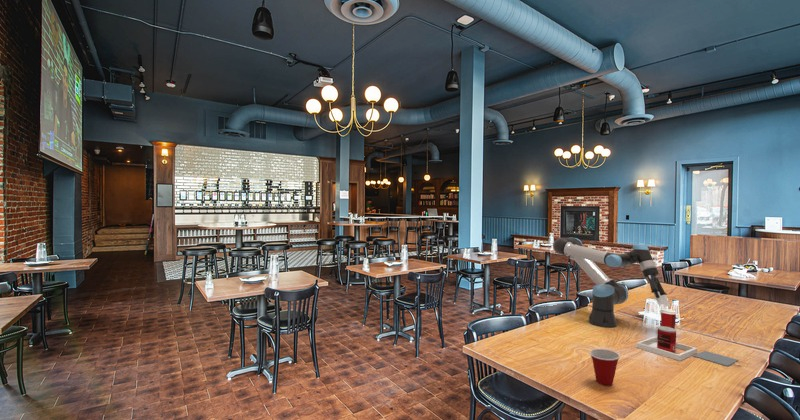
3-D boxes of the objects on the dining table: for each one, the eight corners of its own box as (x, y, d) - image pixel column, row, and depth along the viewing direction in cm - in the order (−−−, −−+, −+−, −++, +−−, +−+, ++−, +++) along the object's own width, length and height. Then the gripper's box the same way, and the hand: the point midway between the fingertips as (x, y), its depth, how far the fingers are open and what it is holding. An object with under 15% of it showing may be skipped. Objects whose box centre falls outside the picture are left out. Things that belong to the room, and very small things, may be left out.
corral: (636, 347, 191) (636, 342, 191) (654, 341, 201) (654, 336, 201) (679, 360, 175) (679, 355, 175) (697, 353, 185) (697, 348, 185)
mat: (693, 356, 180) (693, 355, 180) (704, 351, 187) (704, 350, 187) (727, 366, 169) (727, 365, 169) (738, 360, 176) (738, 359, 176)
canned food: (672, 348, 190) (672, 327, 190) (678, 354, 183) (678, 332, 183) (654, 346, 193) (655, 325, 193) (659, 352, 185) (660, 330, 185)
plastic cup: (583, 376, 156) (583, 348, 156) (607, 376, 157) (608, 347, 157) (599, 389, 145) (599, 358, 145) (625, 388, 146) (626, 358, 146)
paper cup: (670, 332, 215) (671, 308, 215) (679, 337, 208) (680, 312, 208) (656, 332, 216) (656, 308, 216) (664, 336, 209) (665, 311, 209)
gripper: (650, 263, 209) (666, 301, 200) (661, 270, 226) (677, 305, 216) (635, 267, 214) (650, 304, 204) (648, 274, 230) (662, 308, 220)
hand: (664, 305), depth 210 cm, fingers open, 13 cm apart
